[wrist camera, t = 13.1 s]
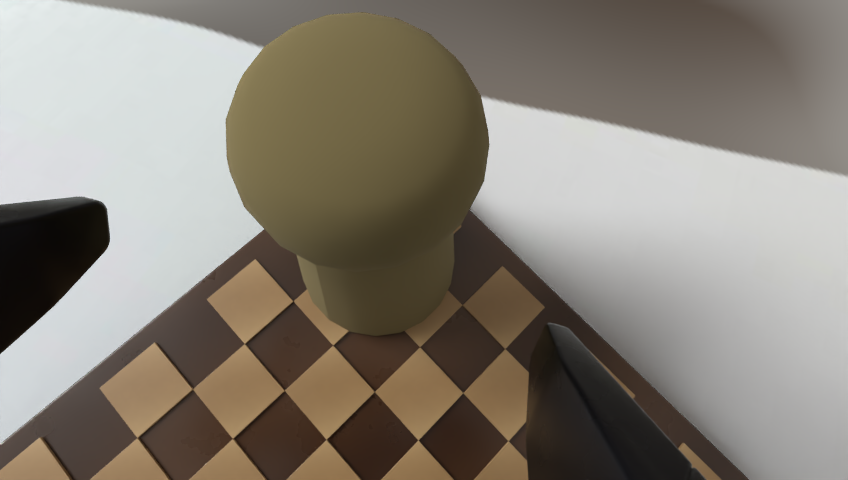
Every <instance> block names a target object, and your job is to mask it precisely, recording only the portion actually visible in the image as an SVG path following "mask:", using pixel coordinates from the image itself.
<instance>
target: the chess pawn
mask: <svg viewBox="0 0 848 480" xmlns="http://www.w3.org/2000/svg"><path fill="white" fill-rule="evenodd" d="M226 146H227V160H228V165H229V170H230V173H231V176H232V178H233V181H234V183H235V185H236V188H237V190H238V193H239V195H240V198H241V200H242V202H243V205H244V207H245V208H246V209H247V211H248V212H249V213H250V214H251V215H252V216H253V217H254V218H255V219H256V220H257V221H258V223H259V224H260V225H261V226H262V227H263V228H264V229H265V230H266V231H267V232H268V233H269V234H270V236H271V237H272V238H273V239H274V240H275V241H276V242H277V243H278V244H279V245H280V246H281V247H283V248H285V249H287V250H289V251H291V252H293V253H294V254H296V255H297V259H298V262H299V266H300V270H301V273H302V277H303V281H304V283H305V285H306V288H307V290H308V292H309V295H310V297H311V299H312V302H313V303H314V304H315V305H316V306H317V307H318V308H319V309H320V311H321V312H322V313H323V314H324V315H325V316H326V317H327V318H328V319H329V320H330V321H332V322H334V323H336V324H337V325H339V326H341V327H343V328H345V329H346V330H348V331H350V332H355V333H360V334H366V335H371V336H381V335H388V334H395V333H401V332H403V331H405V330H407V329H409V328H411V327H413V326H415V325H417V324H419V323H421V322H423V321H424V320H425V319H426V318H427V317H428V316H429V315H430V314H431V313H432V312H433V311H434V310H435V309H436V308H437V307H438V306H439V305H440V304H441V302H442V300H443V298H444V296H445V294H446V292H447V290H448V288H449V286H450V285H451V280H452V274H453V267H454V261H455V260H454V235H453V231H455V230H456V229H457V228H458V227H459V226H460V225H461V224H462V222H463V220H464V218H465V217H466V215H467V213H468V211H469V209H470V207H471V205H472V203H473V202H474V200H475V198H476V196H477V194H478V192H479V190H480V188H481V186H482V184H483V182H484V177H485V171H486V164H487V157H488V150H489V137H488V129H487V124H486V119H485V114H484V109H483V104H482V99H481V95H480V94H479V92H478V90H477V89H476V87H475V85H474V84H473V82H472V80H471V78H470V77H469V75H468V73H467V72H466V70H465V68H464V67H463V65H462V64H461V63H460V62H459V61H458V60H457V58H456V57H455V56H454V55H453V54H452V53H450V52H449V51H448V50H447V49H446V48H445V47H444V46H443V45H441V44H440V43H439V42H438V41H437V40H436V39H435V38H434V37H432V36H431V35H430V34H429V33H427V32H425V31H423V30H421V29H419V28H416V27H414V26H412V25H410V24H408V23H406V22H404V21H402V20H399V19H397V18H391V17H386V16H380V15H375V14H370V13H364V12H360V13H347V14H332V15H326V16H323V17H320V18H317V19H314V20H311V21H308V22H305V23H302V24H300V25H297V26H294V27H292V28H291V29H289V30H288V31H286V32H285V33H284V34H282V35H281V36H279V37H278V38H276V39H275V40H274V41H272V42H271V43H269V44H268V45H266V46H265V47H264V48H263V49H262V51H261V52H260V53H259V55H258V56H257V57H256V58H255V60H254V61H253V62H252V64H251V65H250V66H249V67H248V69H247V70H246V71H245V73H244V74H243V76H242V78H241V80H240V81H239V83H238V86H237V88H236V91H235V94H234V97H233V100H232V103H231V106H230V109H229V112H228V115H227V118H226Z"/></svg>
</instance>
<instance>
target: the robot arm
mask: <svg viewBox="0 0 848 480" xmlns="http://www.w3.org/2000/svg"><path fill="white" fill-rule="evenodd" d="M109 242H110V233H109V224H108V215H107V208H106V206H105V205H104V204H103V203H102V202H100V201H97V200H93V199H90V198H86V197H71V198H61V199H52V200H42V201H32V202H23V203H13V204H3V205H0V354H1V353H2V352H3V351H4V350H5V349H6V348H8V347H9V346H10V345H11V344H12V343H13V342H14V341H15V340H17V339H18V338H19V337H20V336H21V335H22V334H23V333H24V332H26V331H27V330H28V329H29V328H30V327H31V326H32V325H33V324H35V323H36V322H37V321H38V320H39V319H40V318H41V317H42V316H44V315H45V314H46V313H47V312H48V311H49V310H50V309H51V308H52V307H53V306H54V305H55V304H56V303H57V302H58V301H59V300H60V299H61V298H62V297H63V296H64V295H65V294H66V293H67V292H68V291H69V290H70V288H71V287H72V286H73V285H74V284H75V283H76V282H77V281H78V280H79V279H80V278H81V277H82V276H83V274H84V273H85V272H86V271H87V270H88V269H89V268H90V267H91V266H92V265H93V264H94V263H95V261H96V260H97V259H98V258H99V257H100V256H101V255H102V254H103V253H104V252H105V250H106V249H107V247H108V245H109ZM526 452H527V467H528V480H706V478H705V477H704V476H703V475H702V474H701V473H700V472H699V471H698V470H697V469H696V468H695V467H693V468H692V463H691V462H690V461H689V460H688V459H687V458H686V457H685V455H684V454H683V453H682V452H681V451H680V450H679V449H678V448H677V447H676V446H675V444H674V443H673V442H672V441H671V440H670V439H669V438H668V437H667V436H666V435H665V434H664V432H663V431H662V430H661V429H660V428H659V427H658V426H657V425H656V424H655V423H654V421H653V420H652V419H651V418H650V417H649V416H648V415H647V414H646V413H645V412H644V410H643V409H642V408H641V407H640V406H639V405H638V404H637V403H636V402H635V401H634V399H633V398H632V397H631V396H630V395H629V394H628V393H627V392H626V391H625V390H624V388H623V387H622V386H621V385H620V384H619V383H618V382H617V381H616V380H615V379H614V377H613V376H612V375H611V374H610V373H609V372H608V371H607V370H606V369H605V368H604V366H603V365H602V364H601V363H600V362H599V361H598V360H597V359H596V358H595V357H594V356H593V354H592V353H591V352H590V351H589V350H588V349H587V348H586V347H585V346H584V345H583V343H582V342H581V341H580V340H579V339H578V338H577V337H576V336H575V335H574V334H573V332H572V331H571V330H570V329H569V328H567V327H565V326H561V325H557V324H554V323H547V324H546V325H545V326H544V327H543V330H542V332H541V334H540V336H539V339H538V341H537V343H536V346H535V348H534V350H533V352H532V355H531V359H530V364H529V380H528V398H527V417H526Z"/></svg>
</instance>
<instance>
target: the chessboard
mask: <svg viewBox="0 0 848 480" xmlns="http://www.w3.org/2000/svg"><path fill="white" fill-rule="evenodd" d="M453 235H454V260H455V261H454V267H453V274H452V280H451V285H450V286H449V288H448V290H447V292H446V294H445V296H444V298H443V300H442V302H441V304H440V305H439V306H438V307H437V308H436V309H435V310H434V311H433V312H432V313H431V314H430V315H429V316H428V317H427V318H426V319H425V320H424V321H423V322H421V323H419V324H417V325H415V326H413V327H411V328H409V329H407V330H405V331H403V332H401V333H395V334H388V335H381V336H371V335H366V334H360V333H355V332H350V331H348V330H346V329H345V328H343V327H341V326H339V325H337V324H336V323H334V322H332V321H330V320H329V319H328V318H327V317H326V316H325V315H324V314H323V313H322V312H321V311H320V309H319V308H318V307H317V306H316V305H315V304H314V303H313V302H312V299H311V297H310V295H309V292H308V290H307V288H306V285H305V283H304V281H303V277H302V273H301V270H300V266H299V262H298V259H297V255H296V254H294V253H293V252H291V251H289V250H287V249H285V248H283V247H281V246H280V245H279V244H278V243H277V242H276V241H275V240H274V239H273V238H272V237H271V236H270V234H269V233H268V232H267V231H266V230H265V229H264V230H263V231H262V232H260V233H259V234H258V235H257V236H256V237H254V238H253V239H252V240H251V241H249V242H248V243H247V244H246V245H244V246H243V247H242V248H241V249H240V250H238V251H237V252H236V253H235V254H233V255H232V256H231V257H230V258H228V259H227V260H226V261H225V262H224V263H222V264H221V265H220V266H219V267H217V268H216V269H215V270H214V271H212V272H211V273H210V274H209V275H208V276H206V277H205V278H204V279H203V280H201V281H200V282H199V283H198V284H196V285H195V286H194V287H193V288H192V289H190V290H189V291H188V292H187V293H185V294H184V295H183V296H182V297H180V298H179V299H178V300H177V301H176V302H174V303H173V304H172V305H171V306H169V307H168V308H167V309H166V310H164V311H163V312H162V313H161V314H160V315H158V316H157V317H156V318H155V319H153V320H152V321H151V322H150V323H148V324H147V325H146V326H145V327H144V328H142V329H141V330H140V331H139V332H137V333H136V334H135V335H134V336H132V337H131V338H130V339H129V340H128V341H126V342H125V343H124V344H123V345H121V346H120V347H119V348H118V349H116V350H115V351H114V352H113V353H112V354H110V355H109V356H108V357H107V358H105V359H104V360H103V361H102V362H101V363H99V364H98V365H97V366H96V367H94V368H93V369H92V370H91V371H89V372H88V373H87V374H86V375H85V376H83V377H82V378H81V379H80V380H78V381H77V382H76V383H75V384H73V385H72V386H71V387H70V388H69V389H67V390H66V391H65V392H64V393H62V394H61V395H60V396H59V397H57V398H56V399H55V400H54V401H53V402H51V403H50V404H49V405H48V406H46V407H45V408H44V409H43V410H41V411H40V412H39V413H38V414H37V415H35V416H34V417H33V418H32V419H30V420H29V421H28V422H27V423H25V424H24V425H23V426H22V427H21V428H19V429H18V430H17V431H16V432H14V433H13V434H12V435H11V436H9V437H8V438H7V439H6V440H5V441H3V442H2V443H1V444H0V480H528V467H527V452H526V417H527V398H528V380H529V364H530V359H531V355H532V352H533V350H534V348H535V346H536V343H537V341H538V339H539V336H540V334H541V332H542V330H543V327H544V326H545V325H546V324H547V323H554V324H557V325H561V326H565V327H567V328H569V329H570V330H571V331H572V332H573V334H574V335H575V336H576V337H577V338H578V339H579V340H580V341H581V342H582V343H583V345H584V346H585V347H586V348H587V349H588V350H589V351H590V352H591V353H592V354H593V356H594V357H595V358H596V359H597V360H598V361H599V362H600V363H601V364H602V365H603V366H604V368H605V369H606V370H607V371H608V372H609V373H610V374H611V375H612V376H613V377H614V379H615V380H616V381H617V382H618V383H619V384H620V385H621V386H622V387H623V388H624V390H625V391H626V392H627V393H628V394H629V395H630V396H631V397H632V398H633V399H634V401H635V402H636V403H637V404H638V405H639V406H640V407H641V408H642V409H643V410H644V412H645V413H646V414H647V415H648V416H649V417H650V418H651V419H652V420H653V421H654V423H655V424H656V425H657V426H658V427H659V428H660V429H661V430H662V431H663V432H664V434H665V435H666V436H667V437H668V438H669V439H670V440H671V441H672V442H673V443H674V444H675V446H676V447H677V448H678V449H679V450H680V451H681V452H682V453H683V454H684V455H685V457H686V458H687V459H688V460H689V461H690V462H691V463H692V468H693V467H695V468H696V469H697V470H698V471H699V472H700V473H701V474H702V475H703V476H704V477H705V478H706V480H749V479H748V478H747V477H746V476H745V475H744V474H743V473H742V472H741V471H740V470H739V469H738V468H737V467H736V466H734V465H733V464H732V463H731V462H730V461H729V460H728V459H727V458H726V457H725V456H724V455H723V454H722V453H721V452H720V451H719V450H718V449H717V448H716V447H715V446H714V445H713V444H712V443H711V442H710V441H709V440H707V439H706V438H705V437H704V436H703V435H702V434H701V433H700V432H699V431H698V430H697V429H696V428H695V427H694V426H693V425H692V424H691V423H690V422H689V421H688V420H687V419H686V418H685V417H684V416H683V415H682V414H681V413H679V412H678V411H677V410H676V409H675V408H674V407H673V406H672V405H671V404H670V403H669V402H668V401H667V400H666V399H665V398H664V397H663V396H662V395H661V394H660V393H659V392H658V391H657V390H656V389H655V388H654V387H652V386H651V385H650V384H649V383H648V382H647V381H646V380H645V379H644V378H643V377H642V376H641V375H640V374H639V373H638V372H637V371H636V370H635V369H634V368H633V367H632V366H631V365H630V364H629V363H628V362H627V361H626V360H624V359H623V358H622V357H621V356H620V355H619V354H618V353H617V352H616V351H615V350H614V349H613V348H612V347H611V346H610V345H609V344H608V343H607V342H606V341H605V340H604V339H603V338H602V337H601V336H600V335H599V334H597V333H596V332H595V331H594V330H593V329H592V328H591V327H590V326H589V325H588V324H587V323H586V322H585V321H584V320H583V319H582V318H581V317H580V316H579V315H578V314H577V313H576V312H575V311H574V310H573V309H572V308H571V307H569V306H568V305H567V304H566V303H565V302H564V301H563V300H562V299H561V298H560V297H559V296H558V295H557V294H556V293H555V292H554V291H553V290H552V289H551V288H550V287H549V286H548V285H547V284H546V283H545V282H544V281H542V280H541V279H540V278H539V277H538V276H537V275H536V274H535V273H534V272H533V271H532V270H531V269H530V268H529V267H528V266H527V265H526V264H525V263H524V262H523V261H522V260H521V259H520V258H519V257H518V256H517V255H516V254H514V253H513V252H512V251H511V250H510V249H509V248H508V247H507V246H506V245H505V244H504V243H503V242H502V241H501V240H500V239H499V238H498V237H497V236H496V235H495V234H494V233H493V232H492V231H491V230H490V229H489V228H487V227H486V226H485V225H484V224H483V223H482V222H481V221H480V220H479V219H478V218H477V217H476V216H475V215H474V214H473V213H472V212H471V211H470V210H469V211H468V213H467V215H466V217H465V218H464V220H463V222H462V224H461V225H460V226H459V227H458V228H457V229H456V230H455V231H453Z"/></svg>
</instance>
